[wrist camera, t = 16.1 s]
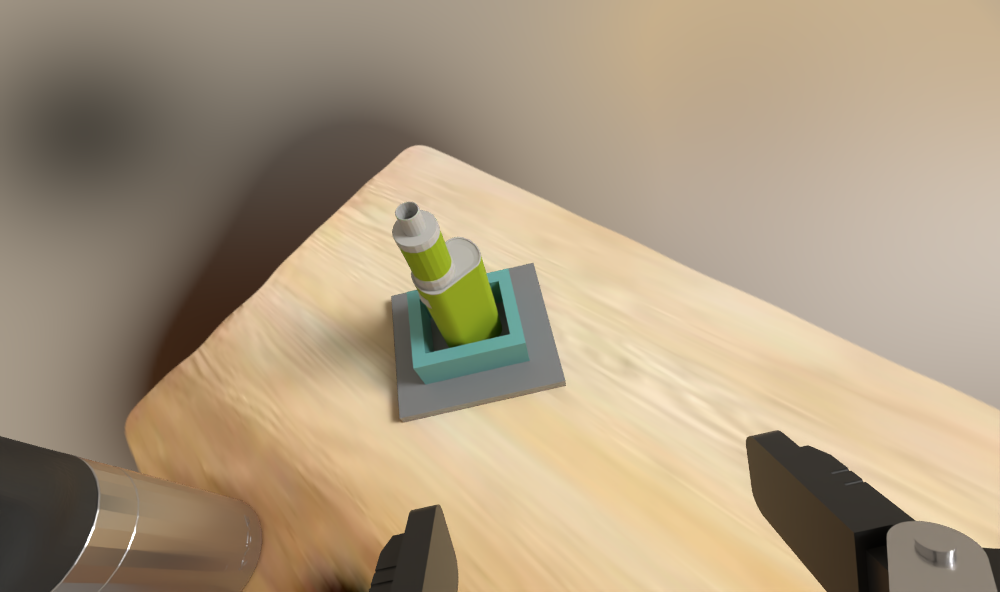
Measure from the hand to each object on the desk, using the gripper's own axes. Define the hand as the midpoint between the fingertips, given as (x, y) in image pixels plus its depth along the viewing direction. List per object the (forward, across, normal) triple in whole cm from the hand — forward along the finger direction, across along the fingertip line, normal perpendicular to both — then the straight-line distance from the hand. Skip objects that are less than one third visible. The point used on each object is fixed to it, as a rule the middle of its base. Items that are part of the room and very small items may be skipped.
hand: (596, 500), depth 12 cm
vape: (+36, +6, +6) cm, 37 cm away
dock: (+37, +6, +6) cm, 38 cm away
